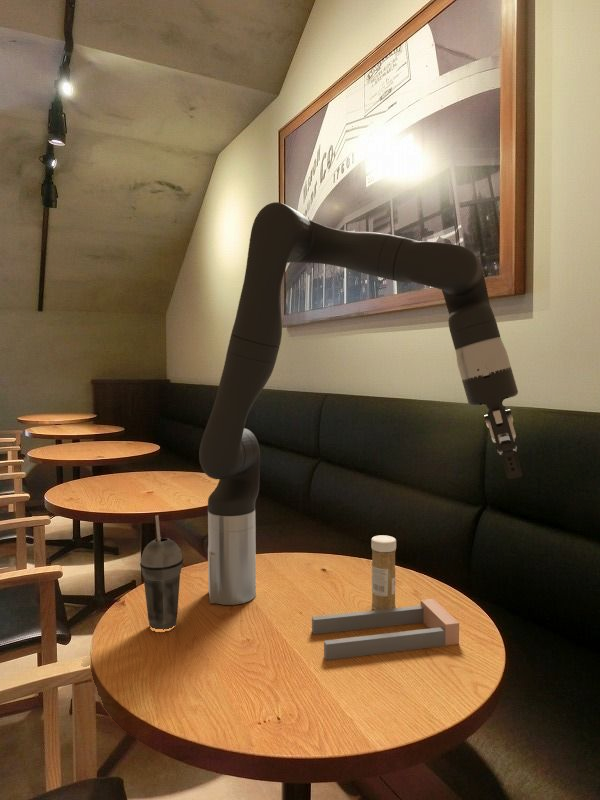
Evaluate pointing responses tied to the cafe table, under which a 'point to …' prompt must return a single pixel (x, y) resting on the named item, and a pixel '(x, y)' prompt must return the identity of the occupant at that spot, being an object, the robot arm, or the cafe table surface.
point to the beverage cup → (161, 580)
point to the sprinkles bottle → (383, 572)
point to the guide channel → (429, 612)
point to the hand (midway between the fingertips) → (514, 472)
